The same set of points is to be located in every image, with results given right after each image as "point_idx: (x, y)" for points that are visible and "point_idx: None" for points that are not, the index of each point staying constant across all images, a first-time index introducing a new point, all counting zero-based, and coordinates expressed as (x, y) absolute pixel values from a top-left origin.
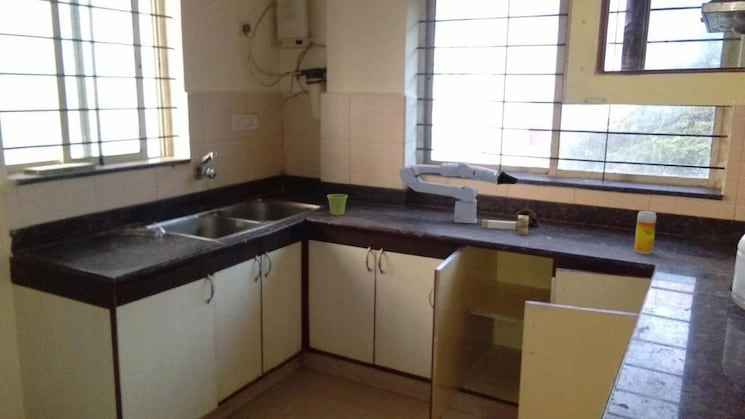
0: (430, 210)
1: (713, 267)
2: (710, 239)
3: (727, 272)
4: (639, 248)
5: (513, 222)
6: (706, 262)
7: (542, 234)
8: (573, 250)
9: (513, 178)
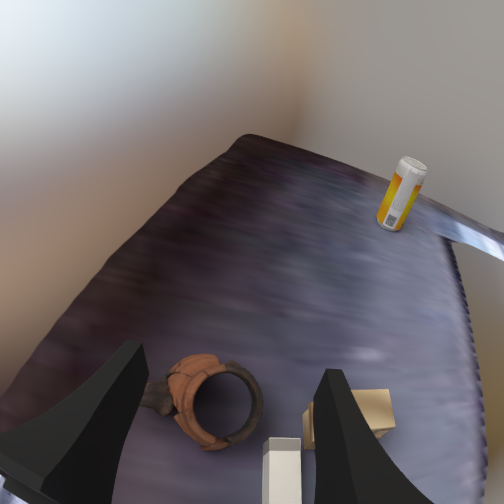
0: None
1: None
2: (251, 142)
3: None
4: (403, 223)
5: (288, 460)
6: None
7: None
8: (446, 315)
9: (350, 389)
